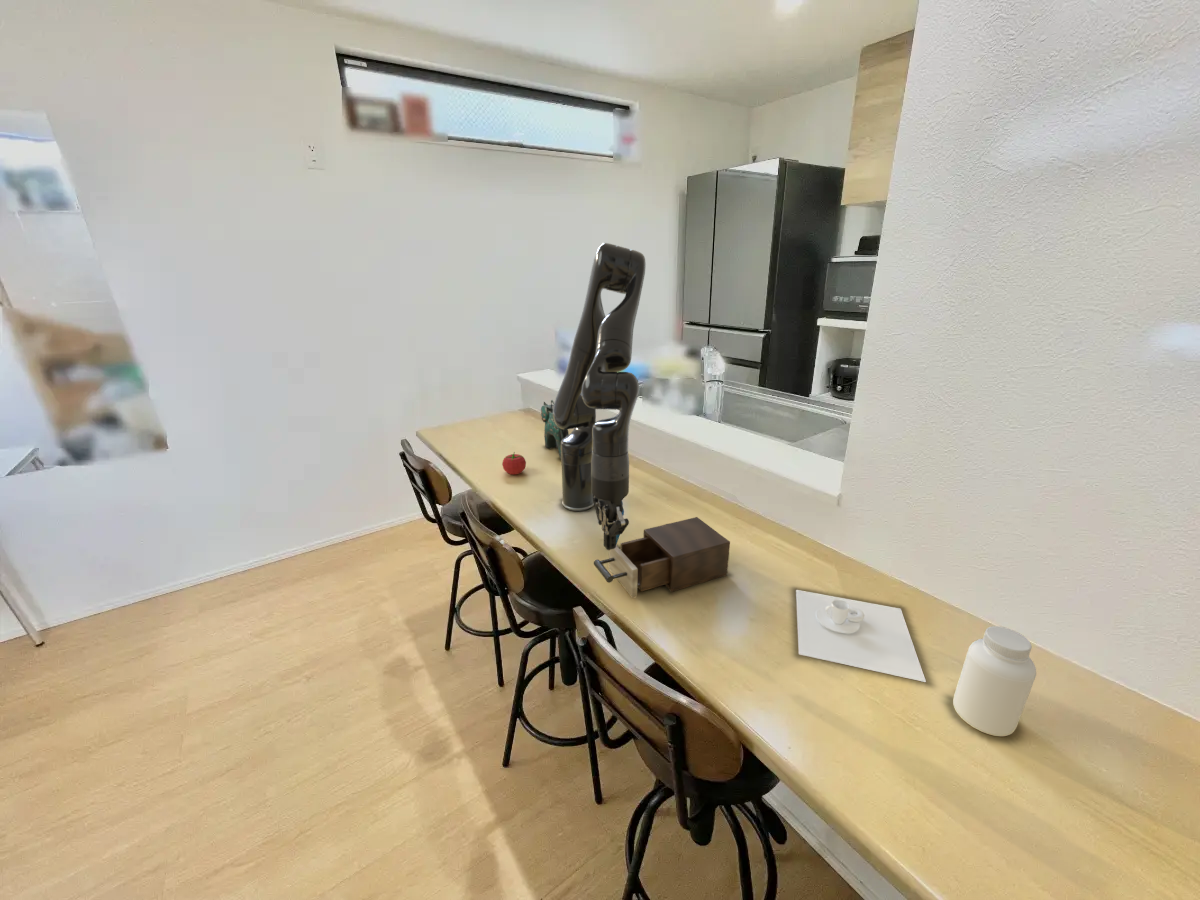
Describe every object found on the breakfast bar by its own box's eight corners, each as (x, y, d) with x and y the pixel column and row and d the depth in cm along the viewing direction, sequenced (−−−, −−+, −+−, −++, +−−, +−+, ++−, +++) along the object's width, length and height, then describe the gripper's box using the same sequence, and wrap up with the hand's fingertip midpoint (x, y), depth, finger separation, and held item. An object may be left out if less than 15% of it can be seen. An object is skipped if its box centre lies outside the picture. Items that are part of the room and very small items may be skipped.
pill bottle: (939, 696, 80) (962, 621, 74) (985, 692, 80) (1011, 617, 75) (978, 740, 72) (1007, 660, 67) (1029, 736, 73) (1061, 656, 68)
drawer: (611, 604, 101) (611, 575, 98) (589, 574, 111) (589, 547, 108) (687, 581, 108) (688, 554, 105) (660, 555, 118) (661, 530, 115)
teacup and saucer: (861, 613, 99) (865, 596, 97) (867, 640, 92) (871, 622, 90) (814, 604, 101) (817, 588, 100) (816, 630, 94) (819, 612, 93)
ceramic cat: (541, 445, 194) (538, 396, 187) (556, 443, 196) (554, 394, 189) (558, 462, 177) (556, 408, 170) (575, 459, 179) (573, 406, 172)
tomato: (524, 477, 164) (522, 456, 161) (501, 477, 164) (499, 456, 162) (528, 468, 171) (526, 448, 169) (505, 468, 172) (504, 448, 169)
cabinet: (671, 592, 106) (673, 557, 103) (642, 561, 117) (643, 529, 114) (727, 575, 111) (730, 541, 108) (694, 548, 122) (696, 516, 119)
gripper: (642, 481, 93) (640, 559, 99) (613, 457, 104) (612, 529, 111) (606, 488, 90) (606, 568, 96) (580, 463, 102) (581, 536, 108)
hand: (609, 547), depth 103 cm, fingers closed
